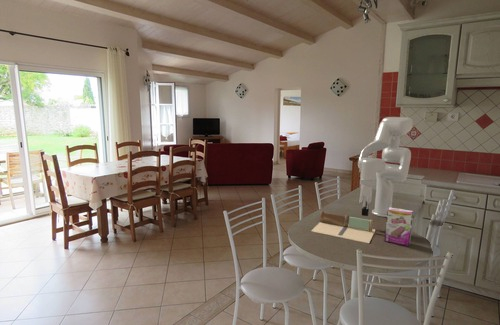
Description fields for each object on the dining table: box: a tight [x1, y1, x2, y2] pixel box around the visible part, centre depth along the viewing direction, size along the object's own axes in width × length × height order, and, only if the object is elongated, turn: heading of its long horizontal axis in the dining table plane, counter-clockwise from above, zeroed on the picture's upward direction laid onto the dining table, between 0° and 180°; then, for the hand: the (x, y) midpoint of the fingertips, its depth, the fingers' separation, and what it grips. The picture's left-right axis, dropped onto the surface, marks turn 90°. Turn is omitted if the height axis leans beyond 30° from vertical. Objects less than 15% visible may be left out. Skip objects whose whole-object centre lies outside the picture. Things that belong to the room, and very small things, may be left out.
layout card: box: [310, 221, 376, 244], centre depth 163 cm, size 20×29×1 cm
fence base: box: [319, 210, 350, 227], centre depth 171 cm, size 2×16×7 cm, turn 60°
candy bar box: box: [384, 207, 414, 247], centre depth 148 cm, size 11×5×16 cm, turn 59°
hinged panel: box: [348, 216, 374, 231], centre depth 164 cm, size 2×12×6 cm, turn 60°
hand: (364, 215), depth 168 cm, fingers closed
